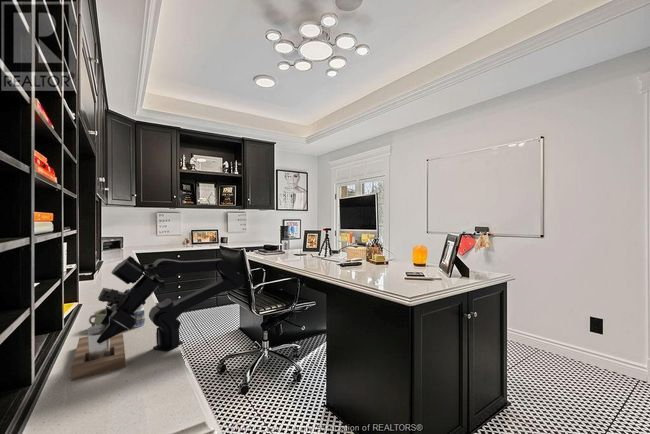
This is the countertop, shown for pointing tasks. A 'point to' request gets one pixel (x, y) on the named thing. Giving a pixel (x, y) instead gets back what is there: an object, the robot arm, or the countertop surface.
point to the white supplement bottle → (145, 308)
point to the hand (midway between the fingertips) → (97, 337)
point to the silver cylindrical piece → (95, 348)
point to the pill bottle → (139, 317)
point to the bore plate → (89, 368)
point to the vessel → (97, 317)
